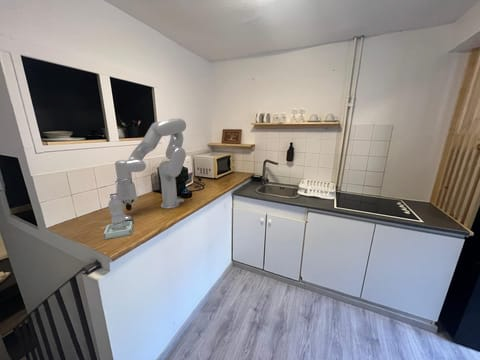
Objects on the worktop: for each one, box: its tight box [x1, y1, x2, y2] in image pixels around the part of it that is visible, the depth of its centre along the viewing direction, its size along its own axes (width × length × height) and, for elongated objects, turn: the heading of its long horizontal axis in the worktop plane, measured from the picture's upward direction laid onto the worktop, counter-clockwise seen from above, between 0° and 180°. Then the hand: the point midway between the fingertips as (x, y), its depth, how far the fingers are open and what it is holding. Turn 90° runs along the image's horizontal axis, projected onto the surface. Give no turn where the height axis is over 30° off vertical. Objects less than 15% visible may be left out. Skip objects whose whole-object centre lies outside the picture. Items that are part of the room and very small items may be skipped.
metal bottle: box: [107, 192, 126, 232], centre depth 101 cm, size 6×7×20 cm
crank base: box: [100, 217, 135, 229], centre depth 111 cm, size 16×6×2 cm, turn 114°
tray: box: [103, 221, 134, 241], centre depth 103 cm, size 12×11×3 cm
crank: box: [123, 212, 132, 222], centre depth 115 cm, size 14×5×8 cm, turn 50°
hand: (129, 210), depth 122 cm, fingers closed
